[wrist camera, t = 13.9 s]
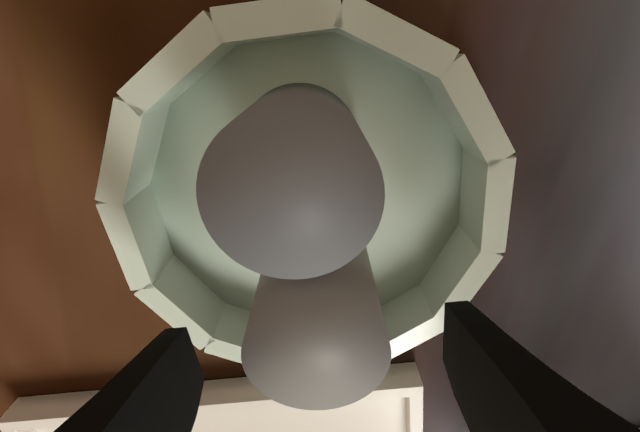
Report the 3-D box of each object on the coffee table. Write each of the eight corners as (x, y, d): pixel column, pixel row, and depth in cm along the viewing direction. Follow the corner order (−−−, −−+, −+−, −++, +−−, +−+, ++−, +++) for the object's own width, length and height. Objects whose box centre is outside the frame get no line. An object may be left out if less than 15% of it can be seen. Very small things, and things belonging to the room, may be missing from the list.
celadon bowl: (490, -18, 11) (539, -37, 8) (466, 313, 16) (492, 358, 14) (86, 36, 11) (24, 31, 9) (191, 339, 16) (170, 386, 14)
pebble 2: (365, 208, 13) (390, 292, 9) (369, 296, 15) (392, 405, 10) (258, 218, 13) (226, 305, 9) (274, 304, 15) (254, 414, 10)
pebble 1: (358, 78, 11) (387, 96, 7) (360, 196, 13) (384, 274, 8) (232, 87, 11) (176, 111, 7) (250, 202, 13) (215, 284, 8)
